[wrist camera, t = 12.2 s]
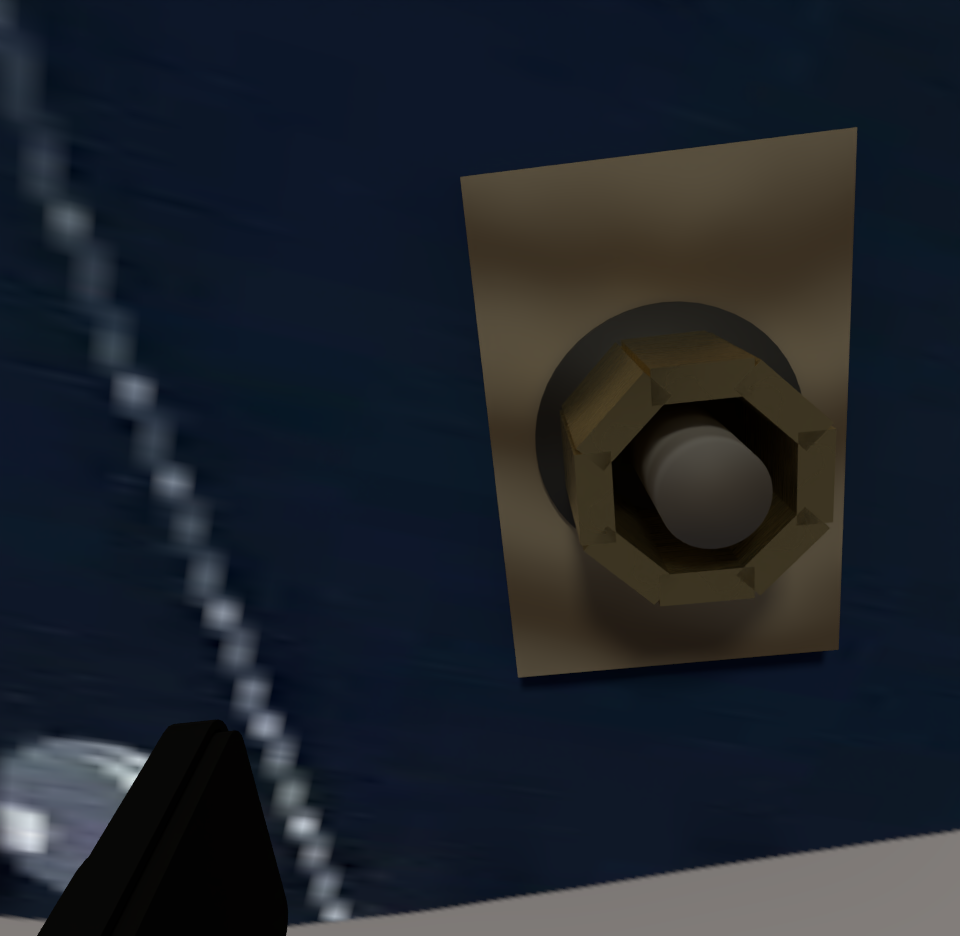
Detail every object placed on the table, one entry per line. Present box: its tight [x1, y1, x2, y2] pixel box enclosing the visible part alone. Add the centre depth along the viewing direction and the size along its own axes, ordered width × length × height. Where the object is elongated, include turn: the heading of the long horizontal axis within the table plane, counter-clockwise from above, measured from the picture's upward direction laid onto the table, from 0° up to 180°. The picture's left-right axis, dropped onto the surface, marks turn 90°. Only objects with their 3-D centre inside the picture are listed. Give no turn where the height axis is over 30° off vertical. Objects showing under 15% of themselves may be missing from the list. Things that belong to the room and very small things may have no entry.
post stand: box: [460, 127, 857, 678], centre depth 24 cm, size 18×12×8 cm, turn 7°
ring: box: [560, 330, 836, 606], centre depth 23 cm, size 7×7×5 cm
